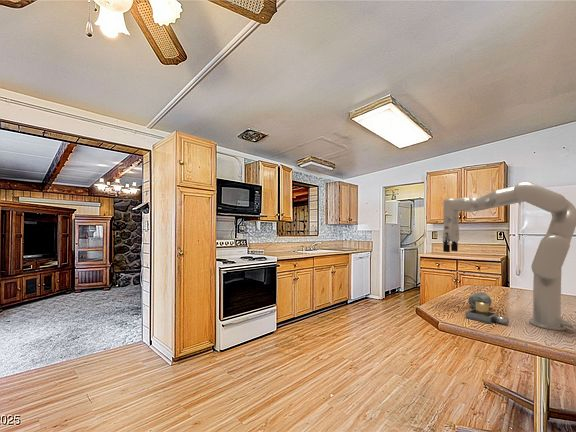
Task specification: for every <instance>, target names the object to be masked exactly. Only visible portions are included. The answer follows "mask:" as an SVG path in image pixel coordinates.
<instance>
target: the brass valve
mask: <svg viewBox="0 0 576 432" xmlns="http://www.w3.org/2000/svg"><path fill="white" fill-rule="evenodd" d="M489 308H490V306H489V303H488V301H485V300H480V299H476V314H480V315H484V316H488V317H489V312H490V309H489Z"/></svg>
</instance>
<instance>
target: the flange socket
mask: <svg viewBox="0 0 576 432" xmlns="http://www.w3.org/2000/svg"><path fill="white" fill-rule="evenodd" d="M465 319H468V320H472V321H477V322H481V323H483V324H484V323H485V324H488V325H491V324H493V323H497V324H501V325H504V326H509V324H510V319H509V317H506V316H500V315H499V313H497V312H492V311H489V317H488V316H484V315H480V314H476V309H475V308H471V309H469V310H467V311H465Z"/></svg>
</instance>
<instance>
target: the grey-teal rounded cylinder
mask: <svg viewBox="0 0 576 432" xmlns="http://www.w3.org/2000/svg"><path fill="white" fill-rule="evenodd" d="M476 299H480V300H485V301H488V303H489V307H491V305H492V299H491V296H489V295H488V294H487V293H485V292H476V293H474V294H471V295H470V296H468V300H467V301H468V304H469V306H471V308H472V309H474V308H475V309H476Z"/></svg>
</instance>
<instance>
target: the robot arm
mask: <svg viewBox="0 0 576 432" xmlns="http://www.w3.org/2000/svg"><path fill="white" fill-rule="evenodd" d="M524 202H525V203H528V204H530V205H532V206H535V207H537V208H539V209H542V210H543V211H546V212H548V213H550V214H551V220H550V223H549V225H548V228H547V232H546V233H545V236H544V237H542V238H541V240H540V242H539V245H538V247H537V249H536V252H535V255H534V258H533V260H532V263H531V267H530V268H531V271H532V273H533V280H532V281H533V284H532V291H533V292H532V318H529V319H528V323H529V325H530V324H531V325H532V326H535V327H538V328H541V329H542V328H543V329H546V330H553V331H564V330H566V327H568V328H572V329H575V323H574V322H571V321H565V319H564V318H563V317H562V315H561V314H562V313H561V312H562V308H561V307H562V301H561V300H562V268H563V266H564V262H565V260H566V257H567V256H568V253H569V250H570V247H571V242H572V241H571V240H572V239H573V236H574V233H575V230H576V207H575V205H574V204H573V203H572V202H571V201H570V200H568V199H567V198H566V197H565V196H564V195H562V194H560V193H558V192H556V191H553V190H551V189H548V188H545V187H543V186H541V185H538V184H535V183H533V182H530V181H521V182H519V183H517V184H515V185H513V186H508V187H504V188H499V189H495V190H493V191H491V192H489V193H488V194H485V195H481V196H477V197H472V198H471V197H460V198H445V199H444V200H443V208H442V209H443V211H442V212H443V217H442V218H443V219H442V220H443V228H442V229H443V232H442V233H443V234H442V245H443V248H442V249H443V250H442V252H444V253H450V252H458V246H459V245H458V244H459V241H460V227H459V223H460V222H459V221H460V219H459V218H460V215H459V214H460V212H465V213H474V212H479V211H485V210H488V209H493V208H500V207H504V206H510V205H514V204H519V203H520V204H521V203H524ZM450 243H451V244H450Z"/></svg>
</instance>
